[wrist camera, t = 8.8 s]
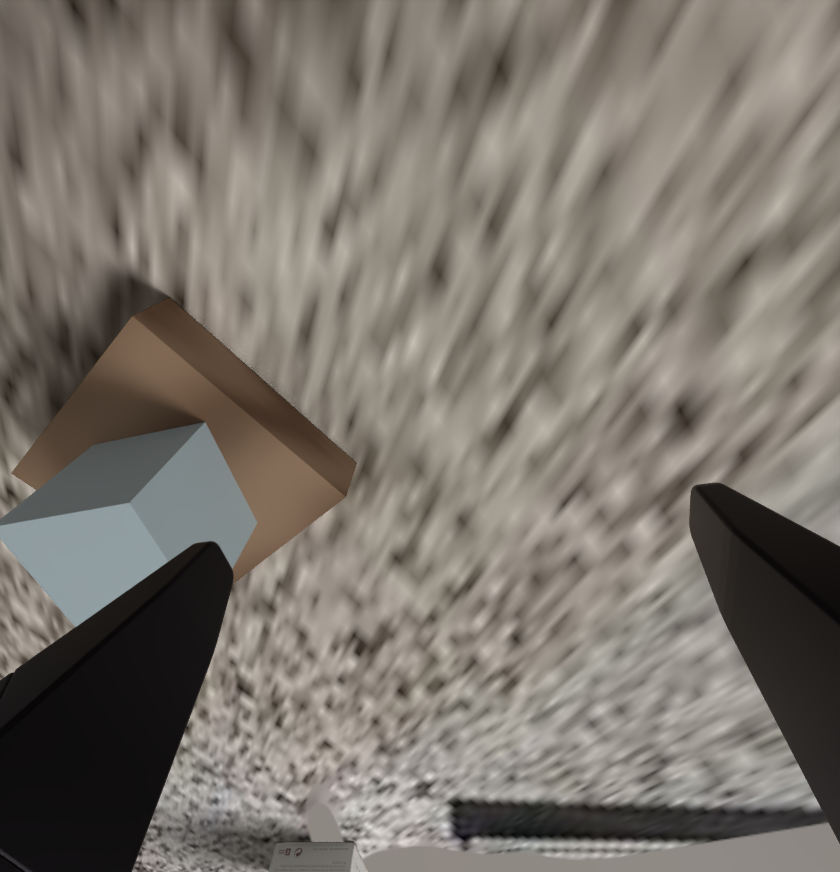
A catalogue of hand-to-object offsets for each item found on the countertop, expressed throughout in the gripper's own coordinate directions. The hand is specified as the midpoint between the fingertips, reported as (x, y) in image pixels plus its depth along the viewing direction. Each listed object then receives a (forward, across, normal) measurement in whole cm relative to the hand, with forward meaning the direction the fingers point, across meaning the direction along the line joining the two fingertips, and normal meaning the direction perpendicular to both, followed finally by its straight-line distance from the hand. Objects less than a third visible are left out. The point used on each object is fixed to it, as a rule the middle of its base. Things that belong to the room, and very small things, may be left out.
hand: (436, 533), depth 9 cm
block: (+8, +12, +3) cm, 15 cm away
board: (+11, +12, +3) cm, 17 cm away
